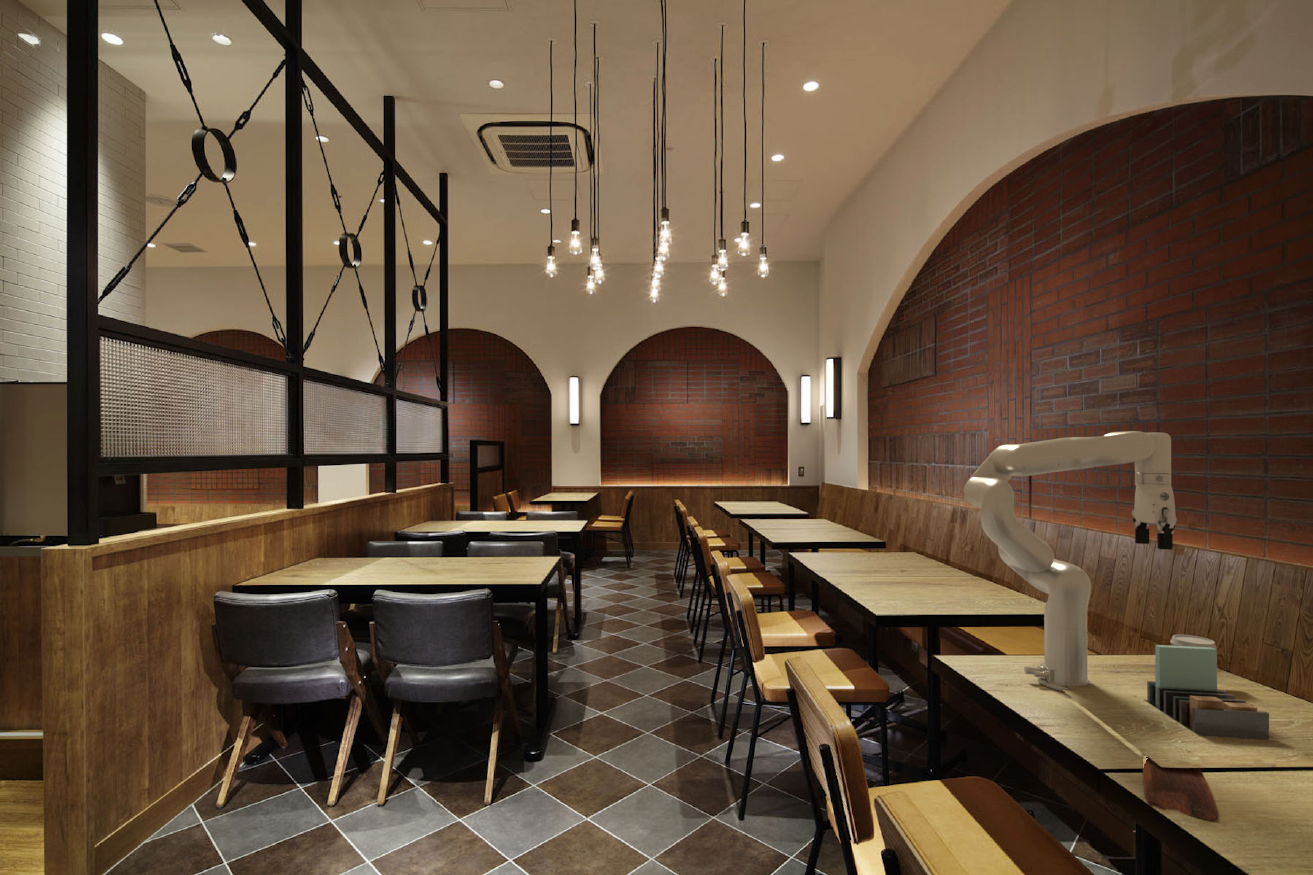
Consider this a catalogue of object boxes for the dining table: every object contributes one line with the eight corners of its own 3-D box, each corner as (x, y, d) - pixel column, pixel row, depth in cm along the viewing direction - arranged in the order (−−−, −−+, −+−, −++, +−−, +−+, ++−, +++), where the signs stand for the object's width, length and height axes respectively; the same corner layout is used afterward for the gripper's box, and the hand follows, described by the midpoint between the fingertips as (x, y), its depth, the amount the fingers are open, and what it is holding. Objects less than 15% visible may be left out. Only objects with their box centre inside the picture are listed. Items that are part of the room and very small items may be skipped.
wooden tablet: (1140, 743, 136) (1202, 750, 130) (1141, 754, 136) (1204, 762, 130) (1144, 800, 114) (1219, 812, 108) (1146, 814, 114) (1221, 826, 108)
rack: (1199, 742, 138) (1199, 711, 138) (1143, 705, 158) (1143, 678, 158) (1274, 747, 136) (1274, 715, 136) (1208, 709, 156) (1208, 681, 156)
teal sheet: (1159, 707, 153) (1159, 646, 153) (1155, 704, 155) (1155, 644, 155) (1217, 710, 151) (1216, 649, 152) (1212, 707, 153) (1212, 647, 153)
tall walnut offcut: (1197, 730, 141) (1197, 699, 141) (1189, 725, 143) (1189, 695, 143) (1223, 732, 140) (1223, 701, 140) (1215, 727, 142) (1215, 696, 142)
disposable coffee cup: (1213, 683, 173) (1212, 637, 173) (1221, 694, 165) (1220, 646, 165) (1167, 676, 178) (1167, 632, 178) (1173, 687, 170) (1173, 640, 170)
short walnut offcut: (1230, 732, 140) (1230, 706, 140) (1222, 727, 142) (1222, 701, 142) (1257, 734, 139) (1257, 707, 139) (1248, 729, 141) (1248, 703, 142)
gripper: (1190, 482, 162) (1191, 551, 162) (1148, 478, 179) (1149, 541, 179) (1157, 481, 163) (1157, 551, 163) (1118, 478, 180) (1119, 541, 180)
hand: (1153, 546), depth 171 cm, fingers open, 9 cm apart
